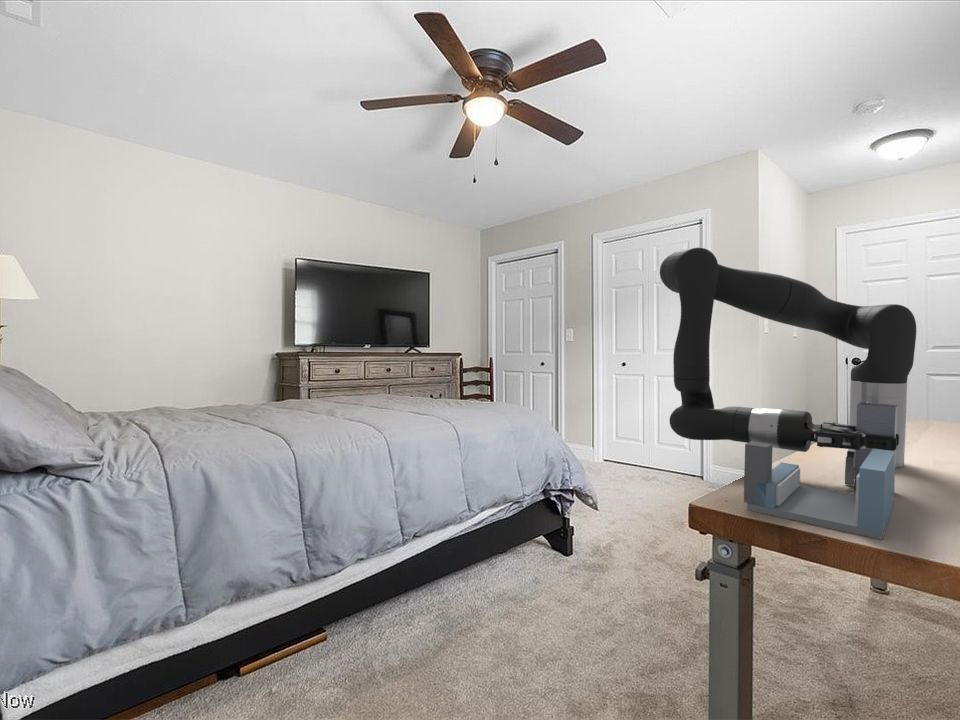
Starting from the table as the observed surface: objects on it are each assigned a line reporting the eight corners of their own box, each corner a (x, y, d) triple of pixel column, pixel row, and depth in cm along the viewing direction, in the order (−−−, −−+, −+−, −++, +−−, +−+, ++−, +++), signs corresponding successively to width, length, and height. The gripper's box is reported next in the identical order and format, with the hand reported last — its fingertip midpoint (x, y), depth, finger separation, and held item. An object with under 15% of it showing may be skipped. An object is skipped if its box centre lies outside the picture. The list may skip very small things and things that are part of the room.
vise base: (775, 485, 86) (777, 435, 86) (893, 507, 75) (895, 450, 75) (747, 509, 74) (748, 451, 74) (882, 539, 63) (884, 471, 63)
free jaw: (771, 480, 86) (772, 430, 85) (801, 485, 83) (802, 433, 82) (743, 502, 74) (745, 444, 74) (777, 509, 71) (778, 448, 71)
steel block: (857, 486, 86) (860, 402, 86) (894, 492, 83) (897, 405, 82) (854, 491, 83) (857, 404, 83) (892, 497, 80) (895, 407, 79)
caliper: (851, 487, 86) (853, 452, 86) (844, 486, 87) (845, 451, 87) (871, 467, 100) (873, 437, 100) (865, 466, 101) (866, 436, 101)
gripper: (770, 413, 87) (895, 425, 75) (789, 405, 97) (901, 414, 86) (769, 454, 88) (893, 472, 76) (788, 442, 98) (900, 456, 86)
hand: (896, 441), depth 81 cm, fingers open, 4 cm apart
